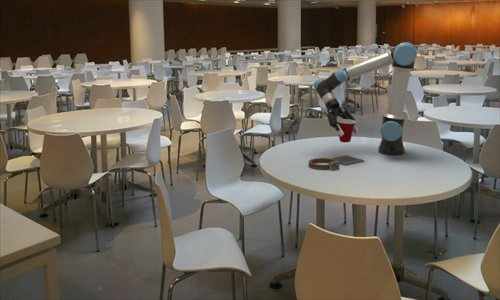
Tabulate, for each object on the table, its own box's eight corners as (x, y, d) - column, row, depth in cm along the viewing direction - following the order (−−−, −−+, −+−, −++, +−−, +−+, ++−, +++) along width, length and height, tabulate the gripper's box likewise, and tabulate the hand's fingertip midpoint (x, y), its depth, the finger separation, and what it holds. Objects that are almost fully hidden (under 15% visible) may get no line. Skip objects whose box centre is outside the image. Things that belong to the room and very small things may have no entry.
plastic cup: (355, 143, 275) (356, 122, 272) (335, 143, 277) (335, 122, 274) (355, 139, 285) (355, 118, 282) (336, 138, 287) (336, 118, 284)
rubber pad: (346, 156, 293) (346, 155, 293) (363, 161, 281) (363, 160, 281) (328, 160, 285) (328, 159, 285) (345, 165, 274) (345, 164, 274)
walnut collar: (324, 160, 285) (324, 153, 284) (346, 167, 270) (346, 160, 269) (303, 165, 277) (303, 158, 276) (324, 172, 262) (324, 165, 261)
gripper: (342, 104, 295) (360, 135, 286) (312, 108, 283) (330, 140, 274) (348, 96, 290) (368, 127, 280) (318, 100, 278) (337, 132, 268)
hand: (349, 133), depth 277 cm, fingers closed on plastic cup, 10 cm apart
